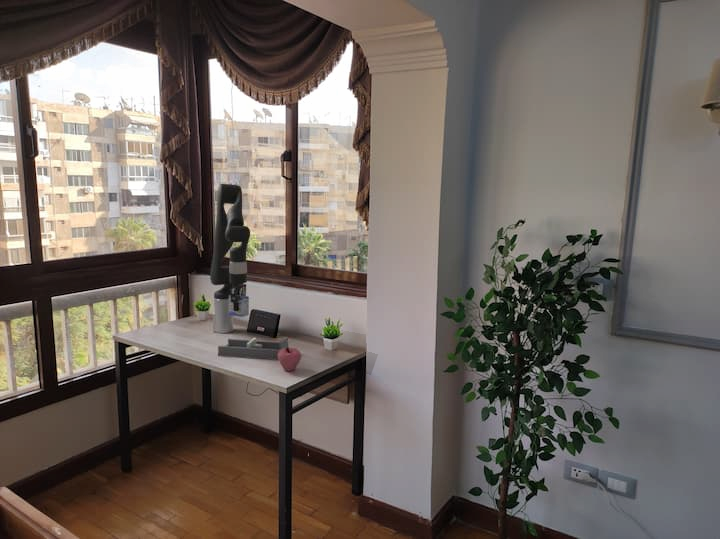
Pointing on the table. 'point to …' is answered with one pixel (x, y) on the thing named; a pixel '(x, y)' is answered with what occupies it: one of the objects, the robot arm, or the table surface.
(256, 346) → the pusher
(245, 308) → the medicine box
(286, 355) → the apple
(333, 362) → the table surface
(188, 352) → the table surface
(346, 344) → the table surface
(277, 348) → the lane
